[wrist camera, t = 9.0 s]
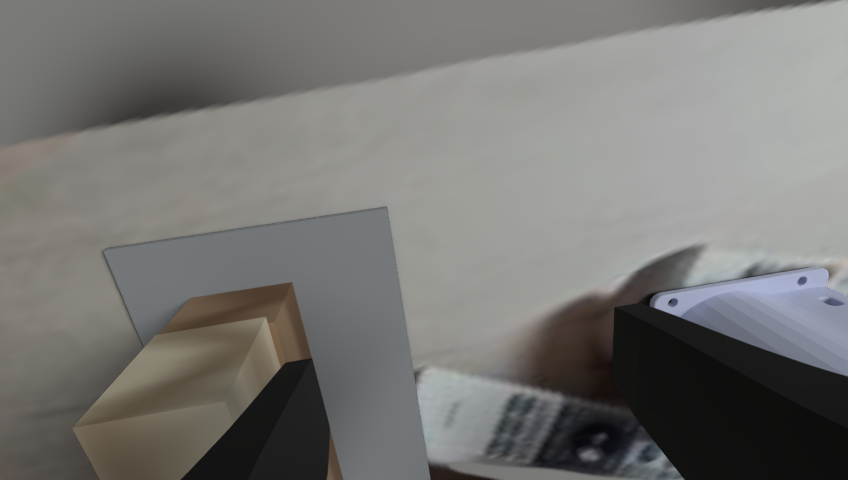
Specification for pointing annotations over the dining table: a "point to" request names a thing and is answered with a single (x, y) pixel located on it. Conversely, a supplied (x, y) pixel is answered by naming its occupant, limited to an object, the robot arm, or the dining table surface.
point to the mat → (307, 319)
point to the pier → (250, 316)
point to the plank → (177, 400)
